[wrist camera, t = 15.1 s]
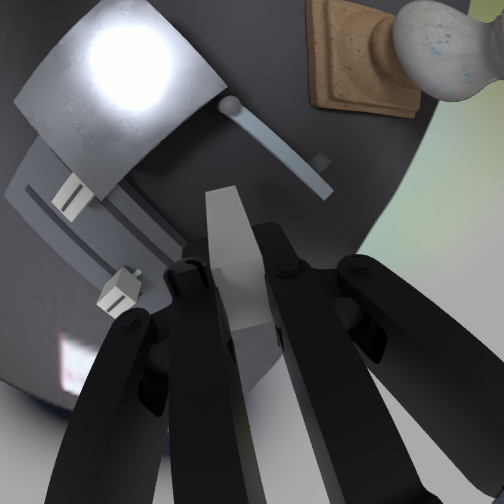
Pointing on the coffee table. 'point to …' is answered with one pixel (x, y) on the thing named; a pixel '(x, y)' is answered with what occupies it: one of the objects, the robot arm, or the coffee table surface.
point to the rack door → (279, 146)
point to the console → (98, 228)
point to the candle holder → (398, 55)
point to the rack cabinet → (115, 91)
